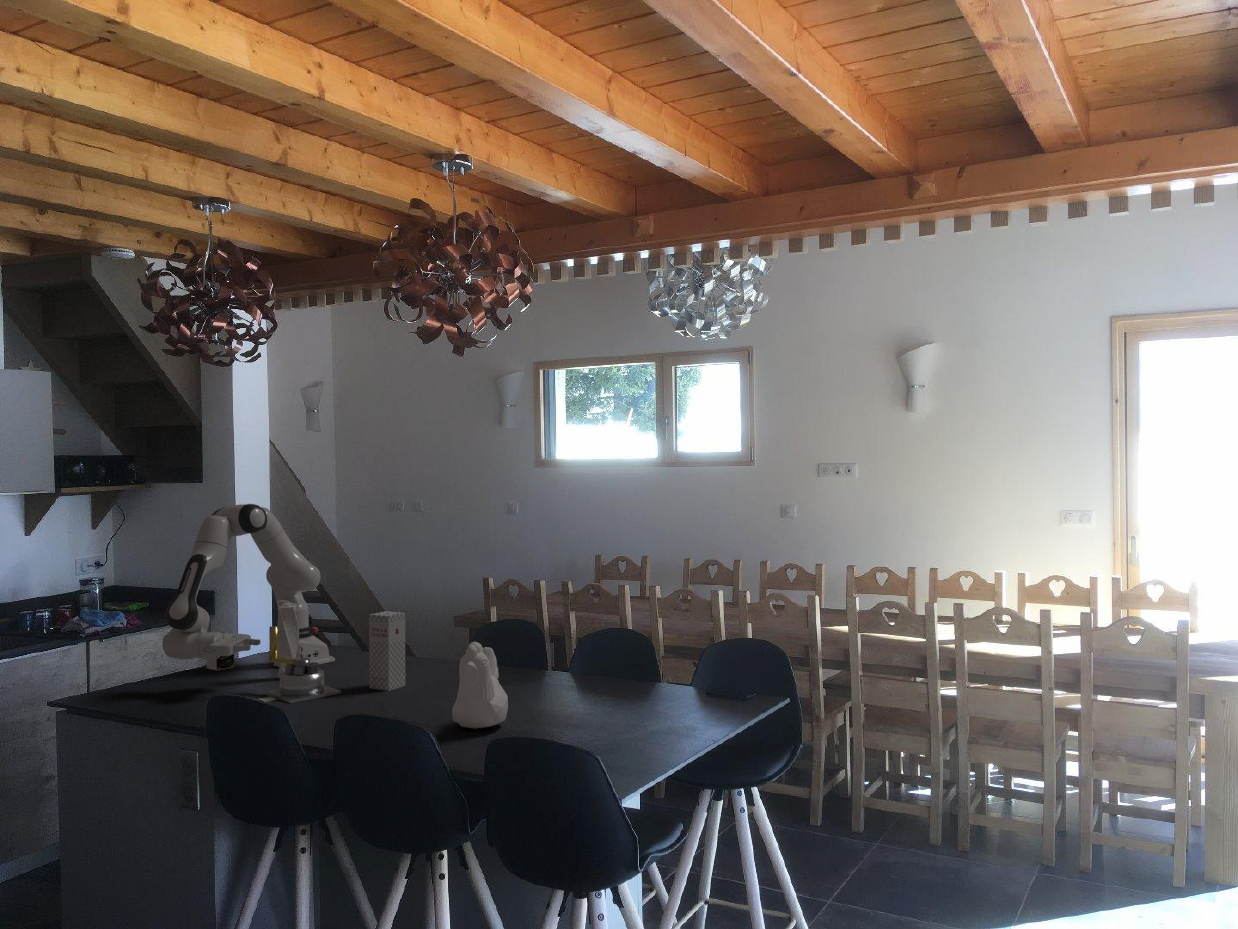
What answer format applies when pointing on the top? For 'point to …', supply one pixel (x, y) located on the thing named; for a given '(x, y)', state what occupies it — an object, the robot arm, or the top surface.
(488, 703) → the white figurine
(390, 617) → the box
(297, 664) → the crank handle
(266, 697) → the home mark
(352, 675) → the top surface
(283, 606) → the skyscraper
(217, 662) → the medicine bottle
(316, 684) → the metal pedestal base
